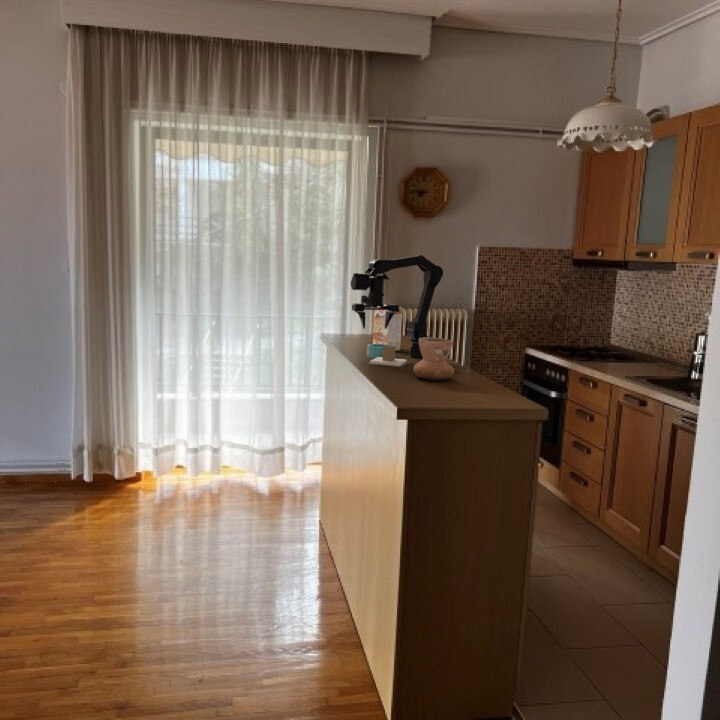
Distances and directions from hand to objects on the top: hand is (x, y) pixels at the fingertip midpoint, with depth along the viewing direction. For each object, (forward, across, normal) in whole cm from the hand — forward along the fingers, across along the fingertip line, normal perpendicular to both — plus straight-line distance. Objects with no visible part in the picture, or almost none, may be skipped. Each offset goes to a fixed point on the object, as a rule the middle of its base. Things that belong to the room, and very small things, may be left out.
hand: (374, 328), depth 290 cm
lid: (+12, -2, +13) cm, 18 cm away
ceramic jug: (+13, -9, +44) cm, 47 cm away
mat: (+12, -2, +13) cm, 18 cm away
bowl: (+12, -4, -3) cm, 13 cm away
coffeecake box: (+13, -15, -31) cm, 37 cm away
